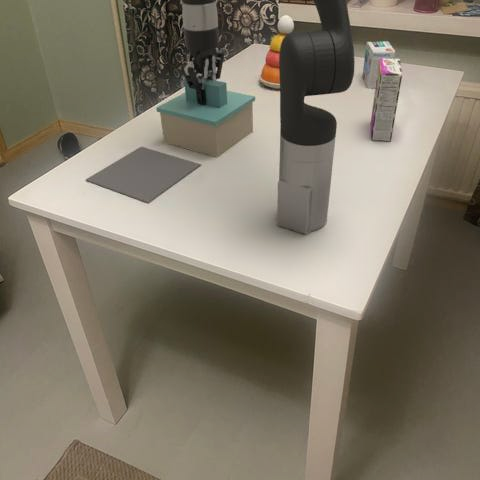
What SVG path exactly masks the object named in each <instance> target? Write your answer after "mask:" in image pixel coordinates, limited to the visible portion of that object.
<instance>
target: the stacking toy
mask: <svg viewBox="0 0 480 480" xmlns="http://www.w3.org/2000/svg"><path fill="white" fill-rule="evenodd" d="M294 27H295V24H294V20H293V18H292V17H291V16H289V15H286V14H285V15H283V16H281V17H280V18H279V20H278V22H277V31H278V32H279V33H277V34H276V35H274V36H273V38H272V39H271V41H270V44H269V50H268V51H267V54H266V56H265V60H264V62H265V63H264V65H263V67H262V70H261V73H260V75H259V76H258V77H259V78H258V79H259V82H260V83H261V84H262V85H264V86H266V87H269V88H272V89H275V90H280V73H279V55H280V47H281V43H282V40H283V38H284V37H285V36H286V35H287V34H290V33H293V31H294V29H295V28H294Z"/></svg>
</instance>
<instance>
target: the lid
mask: <svg viewBox="0 0 480 480" xmlns="http://www.w3.org/2000/svg"><path fill="white" fill-rule="evenodd" d="M183 82H184V90H185V91H184V92H183V93H181V94H179V95H177V96H176V97H174V98H172V99H170V100H168V101H166V102H164V103H162V104H160V105H159V106H156V112H157V113H159V114H160V113H164V114H168V115H172V116H176V117H180V118H184V119H188V120H192V121H196V122H200V123H204V124H208V125H212V126H217V125H218V124H220V123H221V122H223V121H225V120H226V119H228V118H229V117H231V116H232V115H234V114H235V113H237V112H238V111H240V110H241V109H243V108H244V107H246V106H248V105H249V104H251V103H252V102H255V101H256V96H255V95H250V94H245V93H240V92H235V91H230V90H228V89H227V87H228V86H227V82H226V81H219V80H216V81H215V80H210V79H206V80H205V90H206V104H205V105H200V104H198V102H197V98H196V97H197V96H196V90H195V89H192V88H189V86H188V84H187V81H186V79H185V78H184V79H183ZM199 84H201V80H200V79H199Z"/></svg>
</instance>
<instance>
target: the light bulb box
mask: <svg viewBox="0 0 480 480" xmlns="http://www.w3.org/2000/svg"><path fill="white" fill-rule="evenodd" d="M365 46H366V47H365V52H364V60H363V66H362V67H363V68H362V74H361V77H362V79H363V81H364V84H365V86H366V88H367V89H375V87H376V80H377V72H378V65H379V59H380V58H386V59H387V58H392V59H395V57H396V51H395V49H394V48H393V46H392V45H391V43H390V42H389V41H387V40H386V41H366V44H365Z"/></svg>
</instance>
